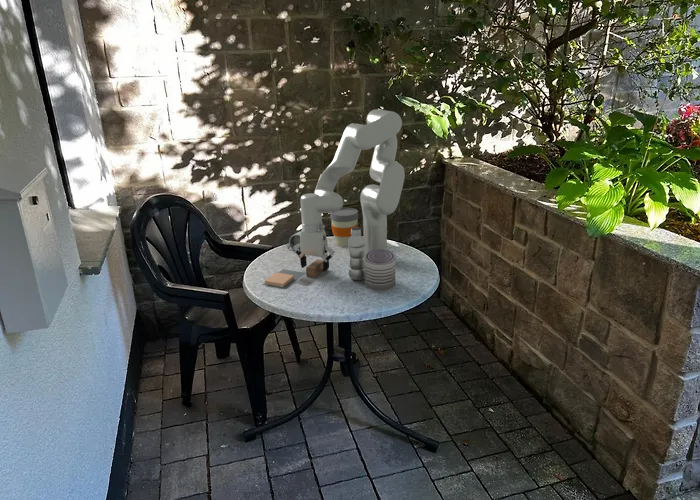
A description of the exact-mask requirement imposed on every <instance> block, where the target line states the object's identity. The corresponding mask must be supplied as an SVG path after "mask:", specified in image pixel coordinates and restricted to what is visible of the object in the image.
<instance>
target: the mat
mask: <svg viewBox="0 0 700 500" xmlns="http://www.w3.org/2000/svg"><path fill="white" fill-rule="evenodd" d="M278 273H283V274H289V275H294V279H293V280H292V281H290V282H289V283H288V284H287V285H285V286H284V287H277V286H272V285H266V284H265V282H263V283H262V284H261V285H263V286H269V287H272V288H273V287H274V288H279V289H285V290H287V289H288V288H289V287H291V285H293V284H294V283H296V282H297V281H298V280H299V279H301V278H302V277H303V276H304V275H305V274H306V272H302V271H296V270H290V269H285V268H283V269H282V270H280V271H279V272H278Z"/></svg>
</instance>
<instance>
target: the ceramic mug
mask: <svg viewBox="0 0 700 500" xmlns="http://www.w3.org/2000/svg"><path fill="white" fill-rule="evenodd" d="M300 235H301V230H300V231H298V232H296V233H295V234H292V235H291V237H289V240H288V242H287V243H286V248H287V249H290V248H291V249H292V250H293V251H295V249H294V248H293V247H294V246H295V245H297V244H299V243H300ZM299 250H300V247H299ZM300 251H301V250H300Z"/></svg>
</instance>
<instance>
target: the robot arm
mask: <svg viewBox="0 0 700 500" xmlns="http://www.w3.org/2000/svg"><path fill="white" fill-rule="evenodd" d="M402 126H403V121H402V118H401V116H400V115H399V114H398V113H397V112H396V111H391V110H387V109H379V108H378V109H372V110H371V111H369V113H368V114H367V115H366V124H361V123H350V124H348V125H347V126H346V127H345V129H344V131H343V134H342V136H341V138H340V141H339V143H338V147H337V149H336V151H335V154H334V157H333V159H332V161H331V162H330V164H329V165H328V166H327V167H326V168H325V169H324V170H323V172H322V173H321V174H320V177H319V179H318V181H317V183H316V185H315V186H316V187H315V189H314V192H313V193H312V192H311V193H309V192H308V193H304V194H302V195H301V197H300V198H299V199H300V200H299V201H300V213H301V214H300V215H301V227H302V228H301V230H300V231H301V235H300V243H299V244H297V245H295V246H294V247H293V248H294V249H295V250H294V252H295V254H296V255H297V256H298V258H299V259H300V261H299V262H300V267H301V269H304V268H306V267H307V266H308V263H307V256H312V257H319V258H321V260H324V262H323V271H322V272H326V271H328V270H329V269H330V260H331V259H332V258H333V257H334V255H335V252H336V250H334V249H333V248H331V247H329V243H328V239H327V233H326V230H325V228H326V224H323V215H322V214H331V213H334V212H337V211H339V210H340V209H341V208H343V206H344V200H343V197H342V196H341V195H340V194H338V193H337V192H335V191H334V189H335V187H336V185H337V183H338V181H340V179H341V178H342V177H343V176H346V175H347V174H349V173H351V172H353V171H354V169H355V168H356V165H357V162H358V159H359V158H360V155H361V152H362V150H363V151H367V150H371V149H373V148H374V150H373V154H372V158H371V164H370V168H369V176H370V178H371V179H372V180H373V181H374V182H376V183H379V185H378V184H367V185H366V186H365V187H364V188H362V190H361V192H360V199H359V200H360V205H361V212H362V231H363V236H362V237H363V239H364V240H365V249H364V255H365V254H366V253H367V252H369V251H370V250H377V249H385V250H389V251H390V249H389V248H388V235H387V234H388V232H387V231H388V230H387V228H388V219H387V218H388V217H387V216H389V215H391V214H393V213H394V212H395V211H396V209H397V207H398V205H399V204H400V203H399V202H400V199H401V194H402V190H403V187H404V183H405V177H406V176H405V169H404V166H403V165H402V164H401V163H399V162H398V161H396V156H397V149H398V138H397V134H398V133H399V132H400V131H401V128H402ZM299 247H300V250H301V251H300V250H299ZM328 253H329V254H328ZM364 265H365V257H364Z"/></svg>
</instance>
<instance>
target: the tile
mask: <svg viewBox="0 0 700 500" xmlns="http://www.w3.org/2000/svg"><path fill="white" fill-rule="evenodd" d="M293 279H294V275H289V274H283V273H279V272H274V273H273V274H272V275H270V276H269V277H268V278H266V279H265V280H264V283H265V284H266V285H265V286H267V285H272V286H271V287H273V286H277V287H276V288H278V287H284V286H285V285H287V284H288V283H289V282H290V281H292V280H293Z"/></svg>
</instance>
